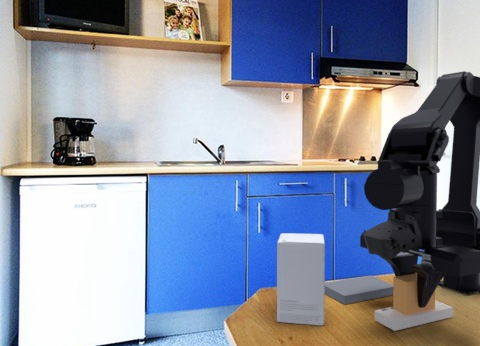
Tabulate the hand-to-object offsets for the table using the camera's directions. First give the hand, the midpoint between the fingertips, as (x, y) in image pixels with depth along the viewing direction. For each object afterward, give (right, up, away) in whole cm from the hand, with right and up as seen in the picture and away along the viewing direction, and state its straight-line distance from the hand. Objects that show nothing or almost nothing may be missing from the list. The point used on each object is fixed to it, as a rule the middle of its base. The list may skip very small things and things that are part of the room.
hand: (414, 303), depth 58 cm
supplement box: (-17, -3, +2) cm, 18 cm away
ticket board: (-5, -2, +12) cm, 13 cm away
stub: (0, -2, 0) cm, 2 cm away
